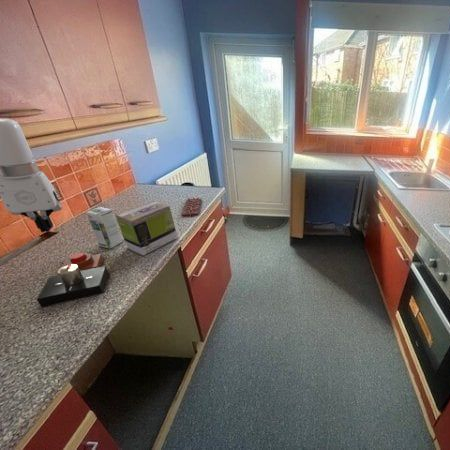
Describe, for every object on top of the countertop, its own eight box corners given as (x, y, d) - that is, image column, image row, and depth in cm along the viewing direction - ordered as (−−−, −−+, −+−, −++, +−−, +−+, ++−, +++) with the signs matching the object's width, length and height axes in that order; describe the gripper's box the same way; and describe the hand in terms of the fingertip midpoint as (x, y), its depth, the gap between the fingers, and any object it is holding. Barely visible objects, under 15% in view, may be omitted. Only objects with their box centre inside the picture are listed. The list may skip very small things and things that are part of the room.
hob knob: (81, 283, 73) (75, 270, 71) (62, 287, 71) (55, 274, 69) (85, 274, 77) (79, 262, 74) (67, 278, 75) (60, 265, 73)
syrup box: (98, 246, 95) (84, 212, 88) (112, 238, 100) (100, 206, 93) (109, 249, 94) (96, 214, 87) (123, 241, 99) (112, 208, 92)
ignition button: (70, 264, 80) (68, 259, 79) (73, 257, 83) (71, 253, 82) (84, 261, 81) (82, 257, 80) (87, 255, 84) (85, 251, 83)
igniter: (60, 279, 79) (54, 269, 77) (68, 265, 85) (63, 255, 83) (98, 271, 83) (94, 262, 81) (103, 258, 89) (99, 249, 87)
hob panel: (41, 307, 69) (36, 298, 67) (54, 284, 77) (49, 276, 75) (102, 292, 74) (99, 284, 73) (108, 273, 82) (105, 265, 81)
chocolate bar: (182, 216, 120) (181, 212, 119) (187, 201, 136) (186, 198, 135) (198, 215, 121) (197, 211, 121) (201, 200, 138) (200, 197, 137)
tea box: (162, 232, 106) (154, 200, 99) (178, 238, 102) (170, 205, 95) (126, 248, 95) (114, 213, 88) (142, 256, 91) (131, 220, 84)
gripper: (-32, 175, 60) (6, 240, 68) (50, 171, 66) (75, 231, 74) (-14, 167, 66) (18, 228, 74) (59, 164, 72) (81, 220, 80)
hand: (47, 229), depth 74 cm, fingers closed
